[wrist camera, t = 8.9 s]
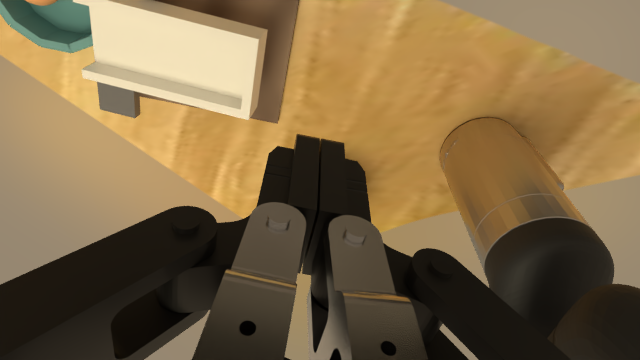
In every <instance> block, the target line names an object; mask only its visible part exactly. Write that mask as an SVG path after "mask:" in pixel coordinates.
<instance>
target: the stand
mask: <svg viewBox="0 0 640 360" xmlns="http://www.w3.org/2000/svg"><path fill="white" fill-rule="evenodd" d="M154 1H158V2H162V3H166V4H170V5H174V6H178V7H181V8H185V9H189V10H193V11H197V12H201V13H205V14H209V15H212V16H216V17H220V18H224V19H228V20H232V21H236V22H240V23H243V24H247V25H251V26H255V27H259V28H263V29H267V30H268V32H267V39H266V46H265V54H264V61H263V68H262V76H261V83H260V90H259V98H258V105H257V108H256V109H255V111H254V113H253V114H252V116H251V117H250V118H252V119H257V120H262V121H267V122H272V123H277V124H278V119H279V113H280V107H281V102H282V96H283V90H284V84H285V78H286V73H287V67H288V61H289V55H290V49H291V44H292V38H293V32H294V26H295V20H296V15H297V9H298V3H299V0H154ZM139 96H141V97H146V98H151V99H156V100H161V101H166V102H171V103H176V104H181V105H186V106H191V105H187V104H183V103H179V102H175V101H171V100H167V99H163V98H160V97H156V96H152V95H148V94H144V93H140V92H139ZM191 107H195V106H191ZM196 108H199V107H196ZM201 109H203V108H201Z"/></svg>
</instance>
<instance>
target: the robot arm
mask: <svg viewBox="0 0 640 360" xmlns="http://www.w3.org/2000/svg"><path fill="white" fill-rule="evenodd" d="M440 163H441V167H442V169H443V172H444V174H445V177H446V179H447V181H448V184H449V187H450V189H451V192H452V194H453V197H454V199H455V202H456V204H457V206H458V209H459V211H460V214H461V216H462V219H463V221H464V224H465V226H466V228H467V231H468V233H469V236H470V238H471V241H472V243H473V246H474V248H475V251H476V253H477V255H478V258H479V260H480V263H481V265H482V267H483V270H484V273H485V275H486V277H487V280H488V283H489V288H488V287H487V286H486V285H485V284H484V283H482V282H481V281H480V280H479V279H478V278H477V277H476V276H475V275H473V274H472V273H471V272H470V271H469V270H467V268H465V267H464V266H463V265H462V264H461V263H460V262H458V261H457V260H456V259H455V258H453V257H452V256H451V255H449V254H447V253H445V252H442V251H440V250H437V249H429V248H426V249H421V250H419V251H417V252H416V253H415V254H414V256H413V257H410V256H408V255H405V254H403V253H401V252H398V251H396V250H394V249H392V248H390V247H388V246H387V245H386V244H384V243H383V241H382V237H381V234H380V232H379V230H378V229H377V228H376V227H375V226H374V225H373V224H372V223H371V216H370V209H369V201H368V193H367V185H366V177H365V171H364V170H363V169H362V167H361V166H360V164H359V163H358V162H357V161H353V160H348V159H345V149H344V143H341V142H336V141H331V140H326V139H321V140H320V138H315V137H310V136H305V135H300V134H297V136H296V140H295V145H294V149H290V148H285V147H280V146H277V147H276V148H275V149H274V150H273V151H272V152H270V153H269V156H268V160H267V164H266V169H265V173H264V177H263V182H262V186H261V190H260V195H259V199H258V203H257V207H256V208H255V209H254V210H253V211H252V213H251V215H249V216H248V217H246V218H244V219H242V220H239V221H234V222H225V223H217V222H216V219H215V218H214V216H213V215H212V214H210V213H209V212H208V211H206V210H204V209H201V208H198V207H193V206H180V207H175V208H171V209H168V210H166V211H164V212H161V213H159V214H157V215H155V216H153V217H151V218H148V219H146V220H144V221H142V222H139V223H137V224H135V225H133V226H131V227H128V228H126V229H124V230H121V231H119V232H117V233H115V234H112V235H110V236H108V237H106V238H104V239H101V240H99V241H97V242H95V243H92V244H90V245H88V246H86V247H84V248H81V249H79V250H77V251H75V252H72V253H70V254H68V255H66V256H63V257H61V258H59V259H57V260H55V261H52V262H50V263H48V264H46V265H43V266H41V267H39V268H37V269H34V270H32V271H30V272H28V273H26V274H23V275H21V276H19V277H17V278H14V279H12V280H10V281H8V282H5V283H3V284H1V285H0V360H144V359H145V358H147V357H148V356H149V355H151V354H152V353H154V352H155V351H157V350H158V349H159V348H161V347H162V346H164V345H165V344H166V343H168V342H169V341H171V340H172V339H174V338H175V337H176V336H178V335H179V334H180V333H182V332H183V331H185V330H186V329H188V328H189V327H190V326H192V325H193V324H195V323H196V322H197V321H199V320H200V319H201V318H203V317H204V316H205V315H206V313H207V312H208V310H210V313H209V316H208V318H207V321H206V323H205V326H204V329H203V331H202V334H201V337H200V339H199V342H198V345H197V347H196V350H195V352H194V355H193V358H192V360H290V359H288V358H285V351H286V345H287V340H288V334H289V328H290V322H291V317H292V312H293V306H294V300H295V295H296V288H297V284H296V279H297V274H298V273H300V271H301V267H302V263H303V271H302V273H303V274H307V275H311V286H310V290H309V293H308V296H307V314H308V344H309V360H468V358H467V357H466V356H465V355H464V354H462V352H461V351H460V350H459V349H458V348H457V347H456V346H455V345H454V344H453V343H452V342H451V341H450V340H449V339H448V338H447V337H446V336H445V335H444V334H443V333H442V332H441V331H440V330H439V328H440V327H441V325H442V324H444V325H445V326H446V327H447V328H448V329H449V330H450V331H451V332H452V333H453V334H454V335H455V336H456V337H457V338H458V339H459V340H460V341H461V342H462V343H463V344H464V345H465V346H466V347H467V348H468V349H469V350H470V351H471V352H472V353H473V354H474V355H475V356H476V357H477V358H478V359H479V360H640V289H639V288H636V287H632V286H629V285H622V284H612V282H613V277H614V264H613V259H612V257H611V254H610V252H609V251H608V249H607V247H606V246H605V245H604V243H603V242H602V240H601V239H600V238H599V237H598V236H597V234H596V233H595V232H594V231H593V229H592V228H591V226H589V224H588V223H587V221H586V220H585V219H584V218H583V216H582V215H581V214H580V212H579V211H578V210H577V209H576V208H575V206H574V205H573V204H572V202H571V201H570V200H569V199H568V197H567V196H566V195H565V193H564V192H563V189H564V185H563V183H562V181H561V180H560V179H559V178H558V176H557V175H556V174H555V173H554V171H553V170H552V169H551V168H550V166H549V165H548V164H547V163H546V161H545V160H544V159H543V158H542V156H541V155H540V154H539V153H538V151H537V150H536V149H535V148H534V146H533V145H532V144H531V143H530V141H529V140H528V139H527V138H526V137H522V136H520V135H519V134H518V133H517V131H516V130H515V129H514V128H513V127H512V126H511V125H510V124H509V123H507V122H505V121H503V120H500V119H496V118H480V119H475V120H472V121H469V122H467V123H465V124H463V125H461V126H459V127H458V128H457V129H456V130H454V131H453V132H452V133H451V134H450V135H449V136H448V137H447V139H446V140H445V142H444V144H443V146H442V149H441V152H440Z"/></svg>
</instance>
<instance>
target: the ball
mask: <svg viewBox="0 0 640 360" xmlns="http://www.w3.org/2000/svg"><path fill="white" fill-rule="evenodd" d="M25 1H27V2H29V3H31V4H35V5H40V6H45V5H50V4H53V3H55V2H56V1H58V0H25Z"/></svg>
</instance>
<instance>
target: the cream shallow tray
mask: <svg viewBox="0 0 640 360" xmlns="http://www.w3.org/2000/svg"><path fill="white" fill-rule="evenodd" d="M73 2H75V3H79V4H83V5H87V6H89V11H90V20H91V29H92V39H93V48H94V57H95V62H94V63H92V64H90V65H89V66H87V67H85V68H83V69H82V76H83V78H85V79H89V80H93V81H97V85H98V94H99V103H100V109H101V110H105V111H109V112H113V113H117V114H121V115H125V116H129V117H133V118H136V117H137V116H138V115H140V98H139V92H140V93H144V94H148V95H152V96H156V97H160V98H163V99H167V100H171V101H175V102H179V103H183V104H187V105H191V106H195V107H199V108H203V109H207V110H211V111H215V112H218V113H222V114H226V115H230V116H234V117H238V118H242V119H246V120H249V119H250V117H251V116H252V114H253V113H254V111H255V109H256V108H257V105H258V98H259V90H260V83H261V76H262V68H263V61H264V54H265V46H266V39H267V32H268V30H267V29H263V28H259V27H255V26H251V25H247V24H243V23H240V22H236V21H232V20H228V19H224V18H220V17H216V16H212V15H209V14H205V13H201V12H197V11H193V10H189V9H185V8H181V7H178V6H174V5H170V4H166V3H162V2H158V1H154V0H73Z"/></svg>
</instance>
